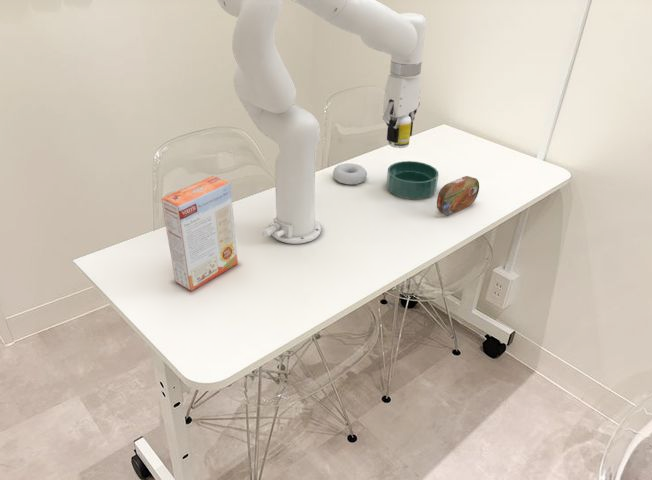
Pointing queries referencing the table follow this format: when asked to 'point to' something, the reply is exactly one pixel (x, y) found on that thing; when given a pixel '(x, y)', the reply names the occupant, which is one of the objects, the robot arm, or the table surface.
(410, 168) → the teal round bowl
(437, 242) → the table surface
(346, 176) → the donut
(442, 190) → the tin
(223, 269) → the cracker box
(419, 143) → the table surface
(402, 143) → the supplement bottle
